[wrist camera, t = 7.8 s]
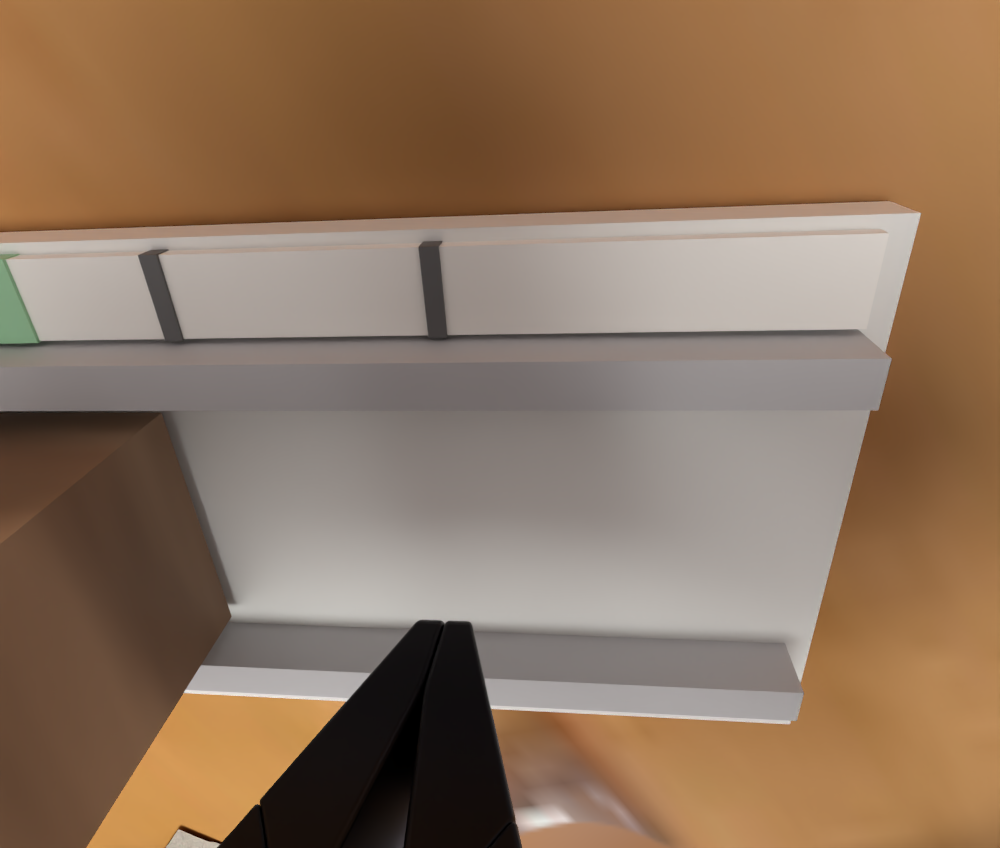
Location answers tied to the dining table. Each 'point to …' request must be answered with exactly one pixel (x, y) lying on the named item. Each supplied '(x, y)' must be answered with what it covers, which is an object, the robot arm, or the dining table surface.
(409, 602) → the gauge base
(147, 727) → the brown cardboard cube
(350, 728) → the robot arm
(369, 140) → the dining table surface
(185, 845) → the condiment
